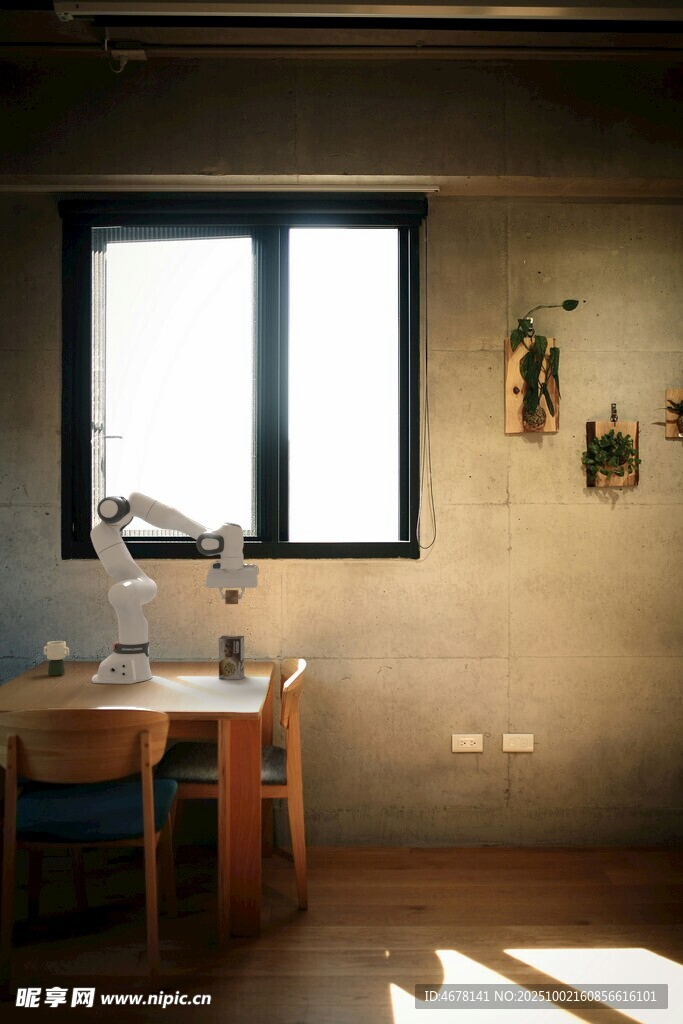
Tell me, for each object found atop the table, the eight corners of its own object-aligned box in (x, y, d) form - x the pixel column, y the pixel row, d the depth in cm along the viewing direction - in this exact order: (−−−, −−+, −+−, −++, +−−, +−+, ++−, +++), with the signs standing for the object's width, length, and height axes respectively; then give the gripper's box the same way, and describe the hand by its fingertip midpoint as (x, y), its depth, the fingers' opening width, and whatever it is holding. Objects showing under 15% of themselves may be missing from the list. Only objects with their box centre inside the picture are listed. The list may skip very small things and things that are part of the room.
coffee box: (244, 676, 301) (245, 635, 301) (241, 679, 295) (241, 638, 295) (222, 675, 302) (222, 635, 302) (218, 679, 296) (218, 637, 295)
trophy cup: (73, 673, 303) (73, 641, 303) (64, 677, 296) (64, 644, 296) (48, 672, 305) (48, 640, 305) (38, 676, 298) (38, 643, 298)
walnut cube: (225, 604, 295) (225, 591, 295) (225, 602, 300) (225, 589, 300) (238, 604, 296) (238, 591, 296) (238, 602, 301) (238, 589, 301)
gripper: (258, 563, 302) (258, 597, 302) (206, 563, 300) (206, 598, 300) (258, 564, 296) (258, 599, 296) (205, 564, 293) (205, 600, 294)
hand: (231, 599), depth 298 cm, fingers closed on walnut cube, 5 cm apart
